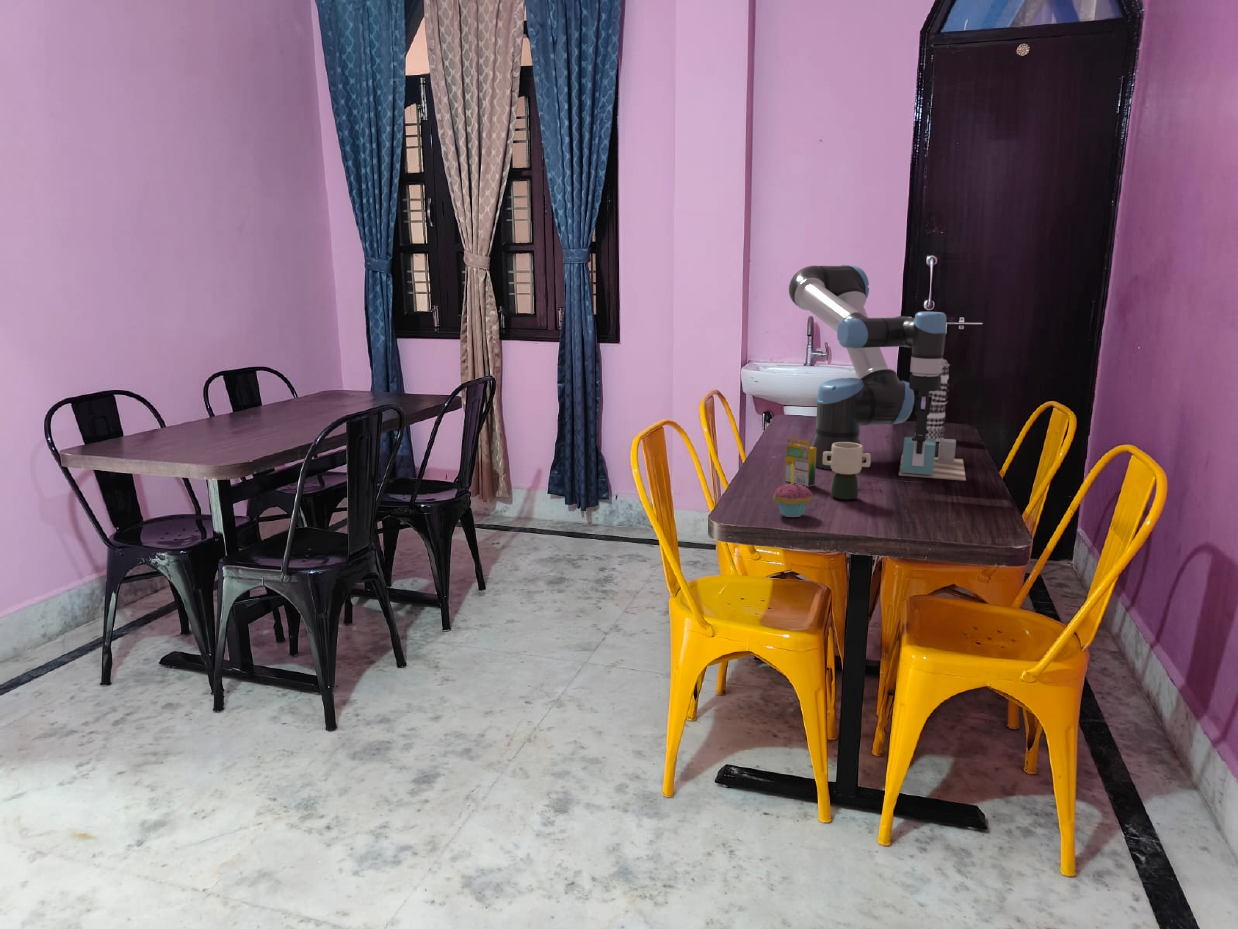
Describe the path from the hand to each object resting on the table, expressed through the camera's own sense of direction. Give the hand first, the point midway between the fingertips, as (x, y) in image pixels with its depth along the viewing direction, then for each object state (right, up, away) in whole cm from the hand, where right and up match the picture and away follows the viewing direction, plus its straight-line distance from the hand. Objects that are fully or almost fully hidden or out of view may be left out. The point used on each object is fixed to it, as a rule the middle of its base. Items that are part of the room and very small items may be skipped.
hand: (917, 461), depth 218 cm
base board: (+6, -3, +6) cm, 9 cm away
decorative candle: (+20, +7, +47) cm, 52 cm away
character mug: (-24, -9, -18) cm, 31 cm away
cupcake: (-39, -12, -31) cm, 51 cm away
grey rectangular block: (+11, 0, +11) cm, 16 cm away
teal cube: (0, -2, +1) cm, 2 cm away
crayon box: (-32, -6, -5) cm, 32 cm away
